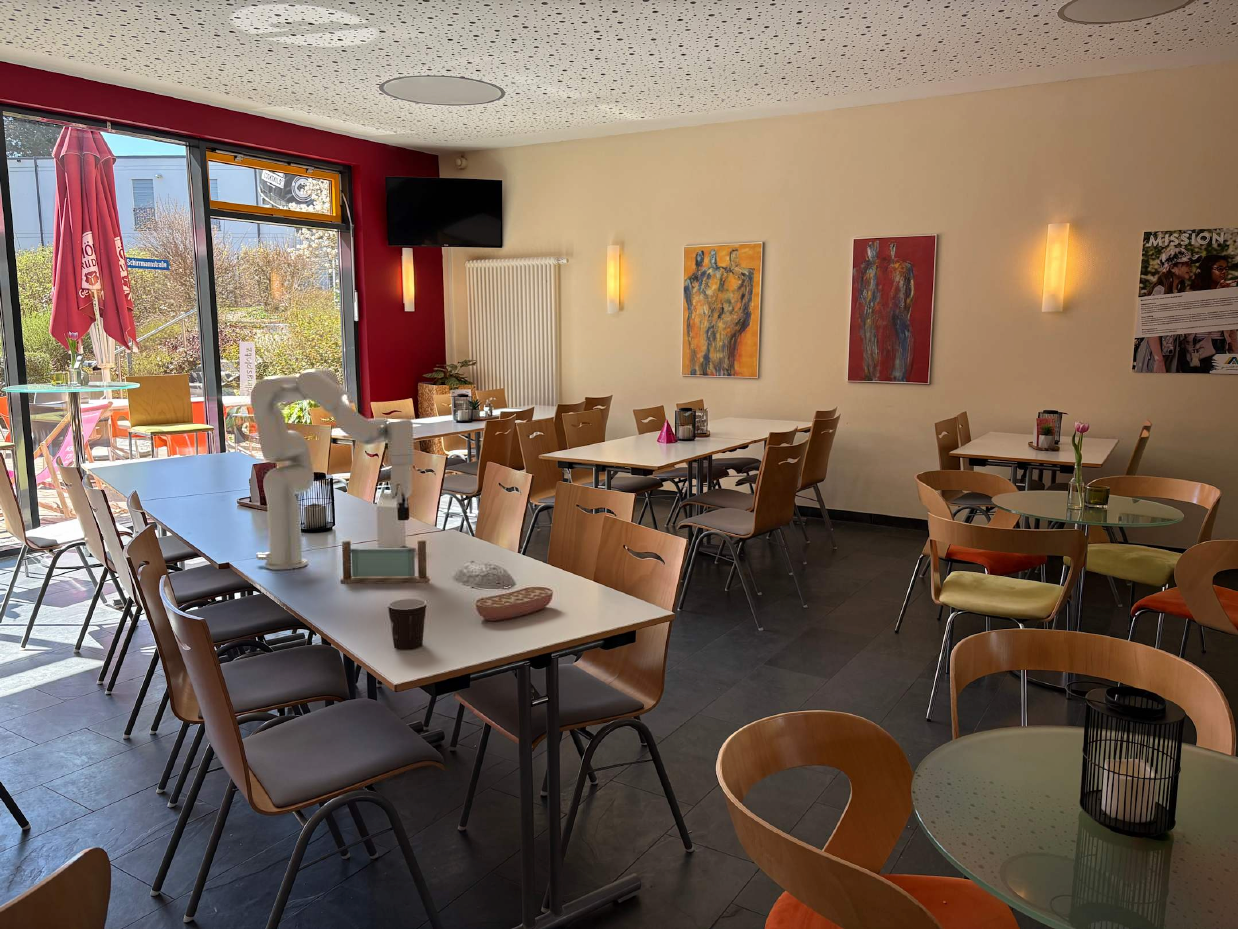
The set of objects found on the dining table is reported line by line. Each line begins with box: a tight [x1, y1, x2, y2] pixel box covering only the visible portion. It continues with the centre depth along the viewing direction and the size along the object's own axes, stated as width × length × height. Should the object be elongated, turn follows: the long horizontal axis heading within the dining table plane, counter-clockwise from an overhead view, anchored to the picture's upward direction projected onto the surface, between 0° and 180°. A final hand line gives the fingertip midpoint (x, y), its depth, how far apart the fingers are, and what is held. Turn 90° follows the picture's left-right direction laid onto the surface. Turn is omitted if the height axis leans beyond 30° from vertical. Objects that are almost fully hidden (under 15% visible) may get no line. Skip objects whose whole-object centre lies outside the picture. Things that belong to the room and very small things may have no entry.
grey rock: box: [452, 560, 516, 590], centre depth 259 cm, size 16×25×7 cm, turn 45°
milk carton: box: [376, 492, 407, 548], centre depth 301 cm, size 7×7×19 cm
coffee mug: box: [387, 598, 427, 651], centre depth 199 cm, size 12×9×10 cm
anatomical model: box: [475, 586, 554, 622], centre depth 226 cm, size 23×10×5 cm, turn 135°
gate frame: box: [340, 539, 430, 584], centre depth 257 cm, size 25×4×12 cm, turn 94°
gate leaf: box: [350, 547, 416, 577], centre depth 257 cm, size 19×2×8 cm, turn 94°
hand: (403, 519), depth 263 cm, fingers closed
